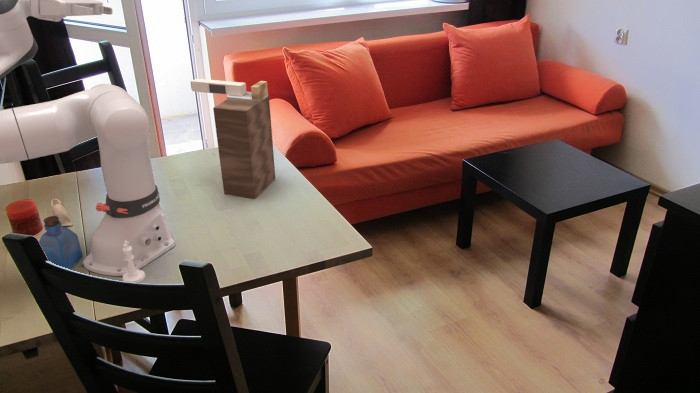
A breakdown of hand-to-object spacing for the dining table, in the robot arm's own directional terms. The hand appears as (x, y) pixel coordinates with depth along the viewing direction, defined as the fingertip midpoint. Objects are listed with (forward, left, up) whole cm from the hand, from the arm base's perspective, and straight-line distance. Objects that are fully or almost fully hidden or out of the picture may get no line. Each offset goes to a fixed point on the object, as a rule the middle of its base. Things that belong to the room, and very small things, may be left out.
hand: (102, 11), depth 148 cm
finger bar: (+13, -24, -24) cm, 36 cm away
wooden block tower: (+10, -33, -51) cm, 61 cm away
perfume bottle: (-40, -9, -51) cm, 66 cm away
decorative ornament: (-24, +6, -51) cm, 57 cm away
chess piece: (-40, -29, -51) cm, 71 cm away
